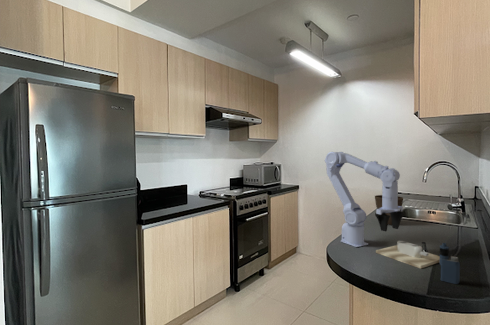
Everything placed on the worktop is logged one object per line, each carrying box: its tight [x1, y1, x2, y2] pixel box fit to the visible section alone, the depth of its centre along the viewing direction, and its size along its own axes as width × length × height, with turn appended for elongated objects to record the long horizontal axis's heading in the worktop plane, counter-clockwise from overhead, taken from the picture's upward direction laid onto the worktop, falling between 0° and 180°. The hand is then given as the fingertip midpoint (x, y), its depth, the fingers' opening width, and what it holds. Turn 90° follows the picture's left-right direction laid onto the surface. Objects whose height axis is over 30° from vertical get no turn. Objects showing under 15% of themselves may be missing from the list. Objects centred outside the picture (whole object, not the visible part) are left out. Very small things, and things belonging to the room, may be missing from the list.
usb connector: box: [396, 240, 430, 258], centre depth 107 cm, size 11×3×4 cm, turn 28°
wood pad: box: [375, 244, 440, 269], centre depth 108 cm, size 18×16×1 cm
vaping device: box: [439, 242, 461, 285], centre depth 87 cm, size 3×5×12 cm, turn 51°
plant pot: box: [374, 194, 404, 226], centre depth 160 cm, size 15×15×16 cm
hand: (389, 229), depth 113 cm, fingers open, 7 cm apart
